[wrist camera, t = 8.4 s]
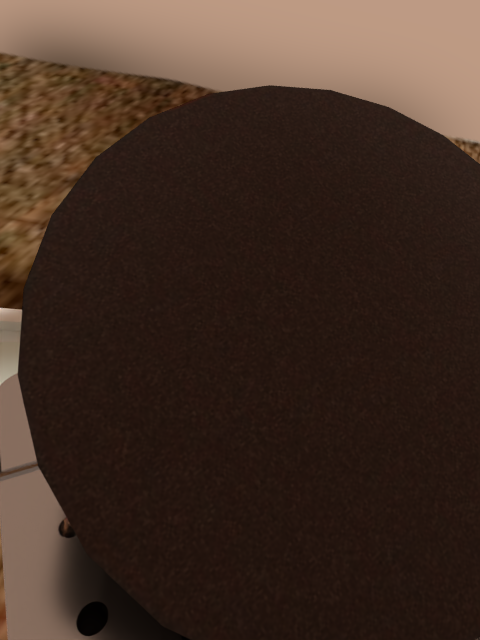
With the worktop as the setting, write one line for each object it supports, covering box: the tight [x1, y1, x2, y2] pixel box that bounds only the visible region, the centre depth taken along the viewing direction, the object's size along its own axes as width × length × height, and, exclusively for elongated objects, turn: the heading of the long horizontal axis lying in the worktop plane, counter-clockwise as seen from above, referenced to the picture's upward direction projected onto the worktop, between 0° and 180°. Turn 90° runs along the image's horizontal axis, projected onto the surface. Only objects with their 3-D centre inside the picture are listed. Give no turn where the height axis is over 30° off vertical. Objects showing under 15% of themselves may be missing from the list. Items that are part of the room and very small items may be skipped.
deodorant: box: [18, 86, 480, 640], centre depth 11 cm, size 6×6×15 cm
